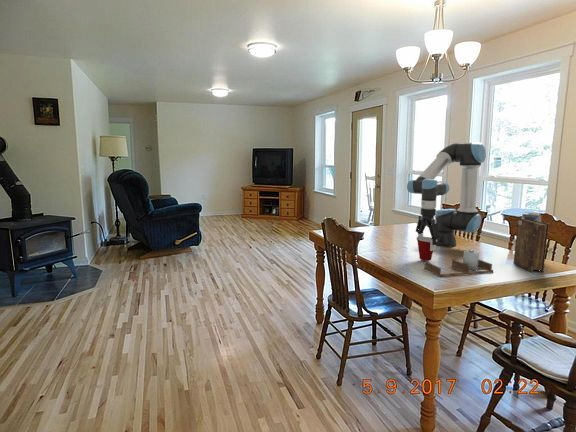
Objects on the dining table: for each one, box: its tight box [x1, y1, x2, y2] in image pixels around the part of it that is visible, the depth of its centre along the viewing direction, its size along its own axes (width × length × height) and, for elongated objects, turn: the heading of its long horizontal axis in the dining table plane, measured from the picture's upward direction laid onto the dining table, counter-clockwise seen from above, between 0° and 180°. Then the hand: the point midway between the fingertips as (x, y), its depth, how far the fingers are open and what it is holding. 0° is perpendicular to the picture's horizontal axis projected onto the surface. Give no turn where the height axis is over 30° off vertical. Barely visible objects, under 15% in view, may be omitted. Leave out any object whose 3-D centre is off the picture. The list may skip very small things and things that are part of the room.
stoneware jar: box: [462, 248, 480, 271], centre depth 191 cm, size 7×7×10 cm
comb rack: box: [424, 258, 494, 278], centre depth 189 cm, size 30×13×4 cm, turn 103°
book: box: [513, 218, 550, 273], centre depth 191 cm, size 17×7×25 cm, turn 177°
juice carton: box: [520, 210, 542, 222], centre depth 208 cm, size 9×10×27 cm
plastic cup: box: [416, 236, 437, 262], centre depth 204 cm, size 11×11×12 cm
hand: (426, 247), depth 204 cm, fingers closed on plastic cup, 11 cm apart
